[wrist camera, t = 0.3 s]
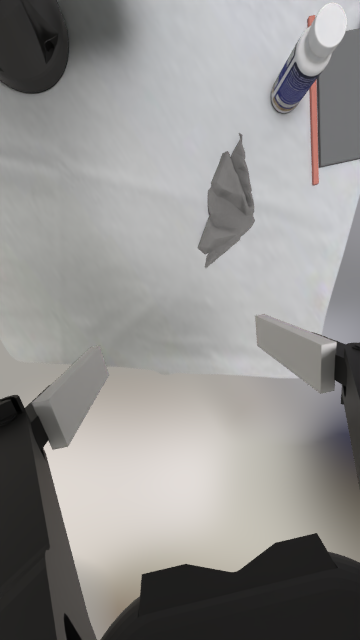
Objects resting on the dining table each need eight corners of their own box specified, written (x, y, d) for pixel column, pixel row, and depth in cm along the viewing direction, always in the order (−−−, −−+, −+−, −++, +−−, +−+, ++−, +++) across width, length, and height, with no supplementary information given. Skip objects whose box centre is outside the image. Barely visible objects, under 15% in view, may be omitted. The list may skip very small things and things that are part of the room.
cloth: (224, 280, 42) (227, 280, 40) (171, 253, 40) (171, 251, 38) (283, 165, 37) (290, 158, 35) (227, 126, 35) (231, 116, 33)
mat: (316, 40, 32) (318, 36, 32) (373, 28, 33) (376, 24, 32) (318, 167, 37) (321, 166, 37) (369, 156, 38) (371, 154, 37)
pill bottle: (301, 108, 35) (353, 43, 25) (273, 119, 35) (315, 59, 25) (295, 71, 33) (348, -12, 24) (266, 83, 33) (308, 4, 24)
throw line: (307, 19, 32) (309, 16, 31) (313, 18, 32) (314, 15, 31) (312, 185, 38) (314, 184, 38) (317, 184, 38) (318, 183, 38)
